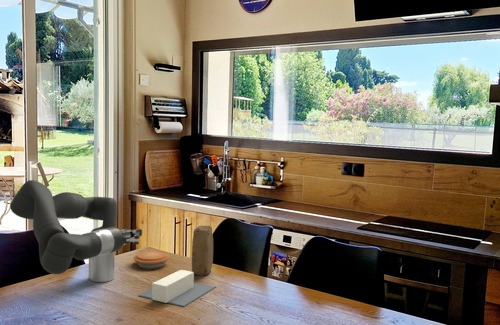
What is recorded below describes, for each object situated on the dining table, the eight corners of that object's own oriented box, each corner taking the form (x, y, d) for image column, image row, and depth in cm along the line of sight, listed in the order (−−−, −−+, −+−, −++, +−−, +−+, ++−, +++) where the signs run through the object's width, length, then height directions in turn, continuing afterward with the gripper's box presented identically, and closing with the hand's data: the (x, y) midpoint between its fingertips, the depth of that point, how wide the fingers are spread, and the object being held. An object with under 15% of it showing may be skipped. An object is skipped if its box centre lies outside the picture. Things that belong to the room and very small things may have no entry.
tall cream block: (152, 283, 163) (180, 269, 180) (152, 299, 164) (180, 284, 180) (166, 286, 161) (193, 272, 177) (165, 302, 161) (193, 287, 177)
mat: (138, 295, 168) (138, 294, 168) (173, 278, 188) (173, 277, 188) (184, 306, 159) (184, 305, 159) (215, 287, 179) (215, 286, 179)
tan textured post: (206, 277, 191) (207, 230, 189) (189, 275, 192) (190, 228, 191) (214, 269, 201) (215, 224, 199) (198, 267, 203) (199, 223, 201)
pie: (175, 265, 205) (175, 254, 205) (146, 272, 194) (146, 261, 193) (155, 257, 216) (155, 247, 215) (126, 264, 204) (126, 253, 204)
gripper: (122, 232, 131) (157, 224, 147) (86, 225, 136) (124, 217, 152) (120, 258, 131) (155, 247, 147) (85, 250, 137) (123, 239, 153)
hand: (140, 232), depth 150 cm, fingers closed
